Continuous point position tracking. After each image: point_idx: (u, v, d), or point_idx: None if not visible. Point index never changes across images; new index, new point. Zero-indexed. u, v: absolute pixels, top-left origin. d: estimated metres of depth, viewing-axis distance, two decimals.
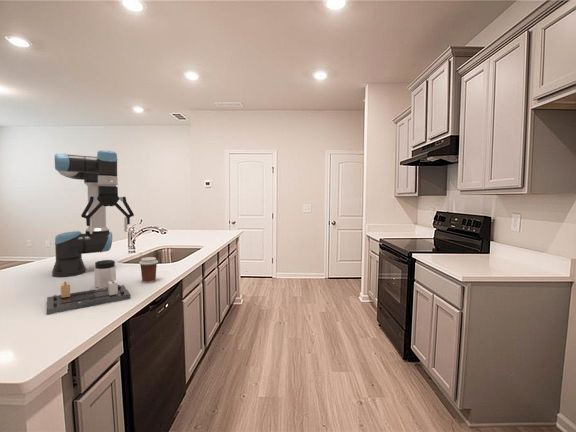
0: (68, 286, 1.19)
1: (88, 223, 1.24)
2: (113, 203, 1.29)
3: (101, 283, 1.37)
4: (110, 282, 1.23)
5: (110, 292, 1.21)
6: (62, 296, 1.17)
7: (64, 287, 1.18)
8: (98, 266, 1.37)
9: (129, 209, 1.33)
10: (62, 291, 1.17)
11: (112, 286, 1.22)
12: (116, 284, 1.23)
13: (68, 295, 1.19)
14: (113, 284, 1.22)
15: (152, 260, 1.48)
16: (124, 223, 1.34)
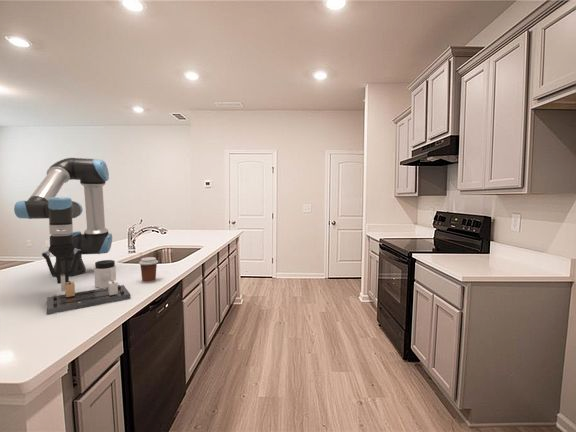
0: (73, 285, 1.19)
1: (59, 280, 1.17)
2: (64, 254, 1.17)
3: (101, 283, 1.37)
4: (110, 282, 1.23)
5: (110, 292, 1.21)
6: (67, 295, 1.18)
7: (69, 286, 1.19)
8: (98, 266, 1.37)
9: (73, 264, 1.20)
10: (67, 290, 1.18)
11: (112, 286, 1.22)
12: (116, 284, 1.23)
13: (73, 294, 1.20)
14: (113, 284, 1.22)
15: (152, 260, 1.48)
16: None
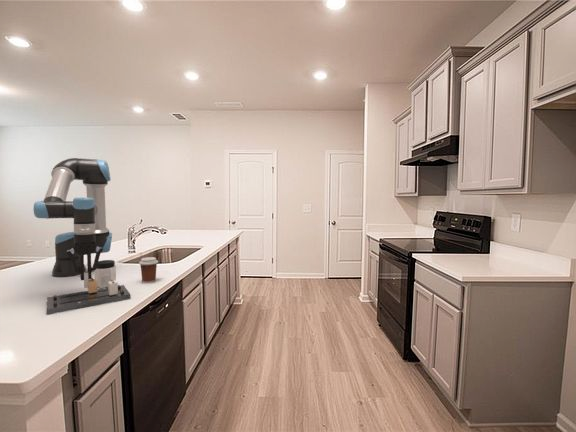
0: (95, 282, 1.24)
1: (82, 277, 1.22)
2: (87, 251, 1.22)
3: (101, 283, 1.37)
4: (110, 282, 1.23)
5: (110, 292, 1.21)
6: (90, 292, 1.23)
7: (91, 283, 1.24)
8: (98, 266, 1.37)
9: (96, 262, 1.25)
10: (90, 287, 1.23)
11: (112, 286, 1.22)
12: (116, 284, 1.23)
13: (95, 291, 1.25)
14: (113, 284, 1.22)
15: (152, 260, 1.48)
16: None
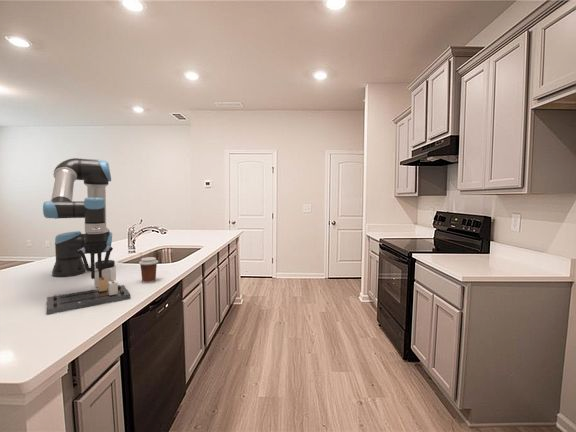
0: (105, 281, 1.27)
1: (93, 276, 1.25)
2: (98, 250, 1.25)
3: None
4: (110, 282, 1.23)
5: (110, 292, 1.21)
6: (100, 290, 1.26)
7: (102, 281, 1.26)
8: None
9: (106, 261, 1.27)
10: (100, 285, 1.26)
11: (112, 286, 1.22)
12: (116, 284, 1.23)
13: (105, 289, 1.27)
14: (113, 284, 1.22)
15: (152, 260, 1.48)
16: None
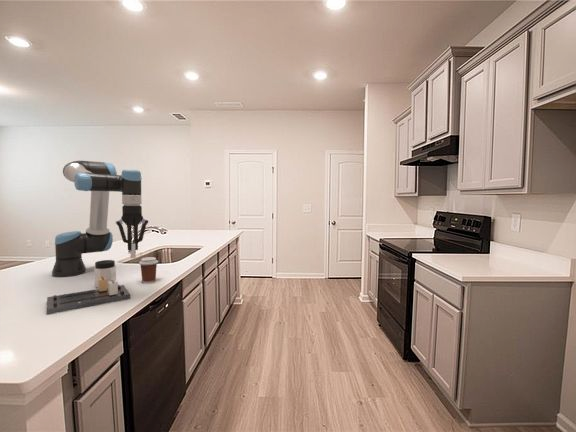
0: (105, 281, 1.27)
1: (130, 248, 1.26)
2: (134, 223, 1.26)
3: None
4: (110, 282, 1.23)
5: (110, 292, 1.21)
6: (100, 290, 1.26)
7: (102, 281, 1.26)
8: (98, 266, 1.37)
9: (142, 233, 1.28)
10: (100, 285, 1.26)
11: (112, 286, 1.22)
12: (116, 284, 1.23)
13: (105, 289, 1.27)
14: (113, 284, 1.22)
15: (152, 260, 1.48)
16: None
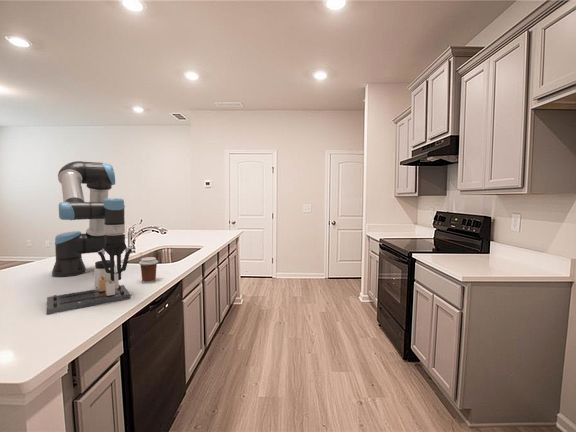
0: (105, 281, 1.27)
1: (112, 278, 1.23)
2: (117, 252, 1.23)
3: None
4: (107, 282, 1.22)
5: (107, 292, 1.21)
6: (100, 290, 1.26)
7: (102, 281, 1.26)
8: (98, 266, 1.37)
9: (125, 262, 1.25)
10: (100, 285, 1.26)
11: (109, 287, 1.21)
12: (113, 284, 1.22)
13: None
14: (110, 284, 1.21)
15: (152, 260, 1.48)
16: None
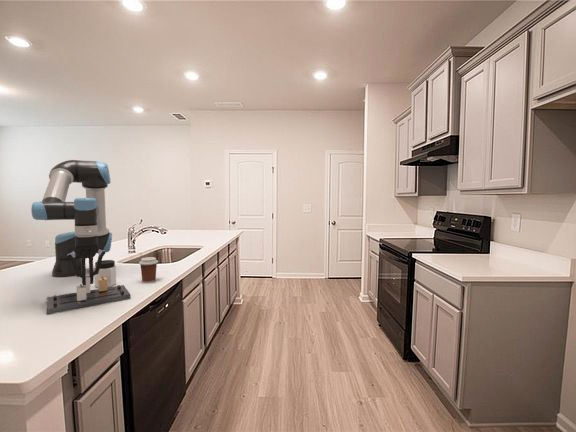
0: (105, 281, 1.27)
1: (84, 282, 1.16)
2: (89, 255, 1.16)
3: None
4: (78, 287, 1.16)
5: (78, 297, 1.14)
6: (100, 290, 1.26)
7: (102, 281, 1.26)
8: None
9: (98, 266, 1.19)
10: (100, 285, 1.26)
11: (80, 292, 1.15)
12: (85, 289, 1.16)
13: (105, 289, 1.27)
14: (81, 289, 1.15)
15: (152, 260, 1.48)
16: None
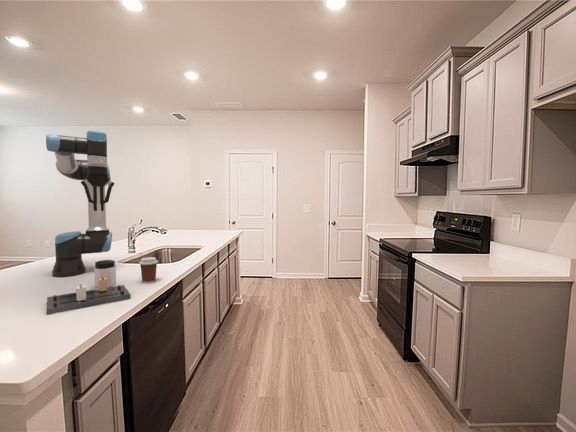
0: (105, 281, 1.27)
1: (95, 208, 1.29)
2: (100, 183, 1.29)
3: None
4: (78, 287, 1.16)
5: (78, 298, 1.14)
6: (100, 290, 1.26)
7: (102, 281, 1.26)
8: (98, 266, 1.37)
9: (108, 195, 1.31)
10: (100, 285, 1.26)
11: (80, 292, 1.15)
12: (84, 289, 1.16)
13: (105, 289, 1.27)
14: (81, 289, 1.15)
15: (152, 260, 1.48)
16: None
